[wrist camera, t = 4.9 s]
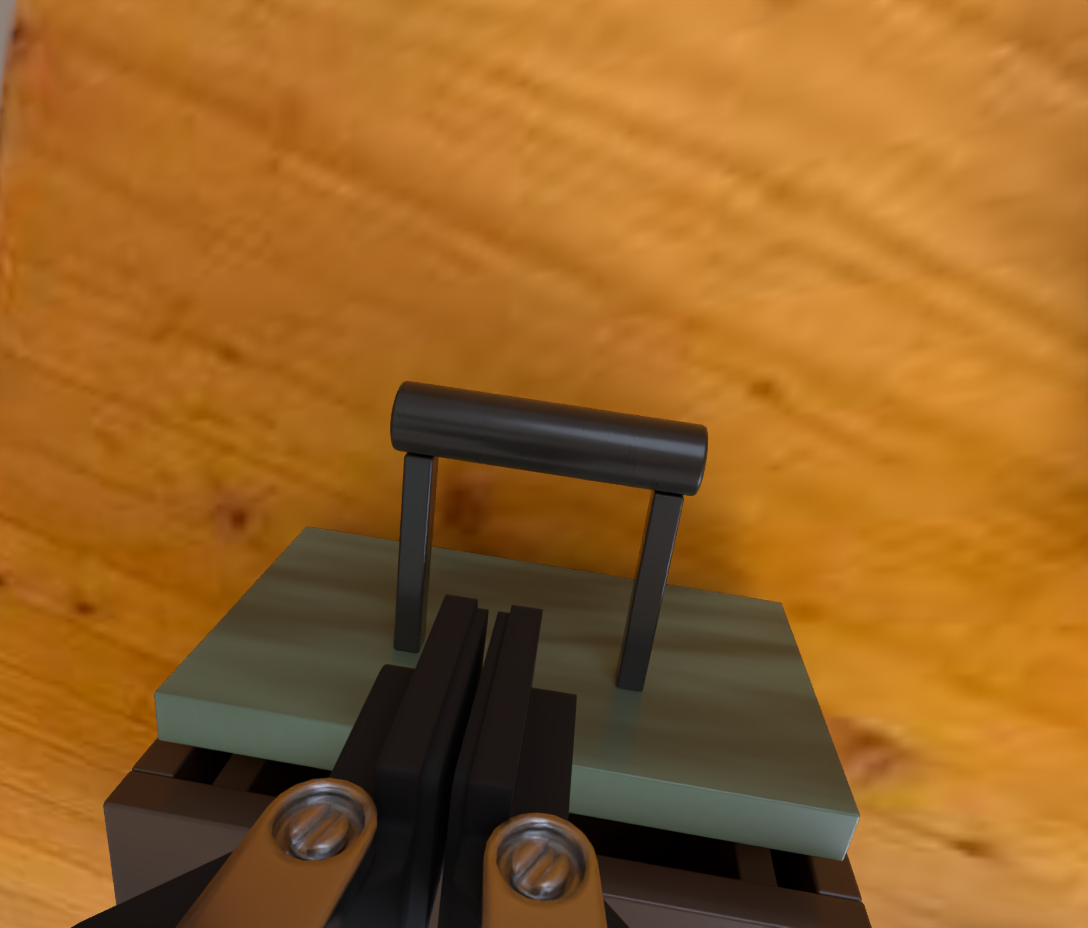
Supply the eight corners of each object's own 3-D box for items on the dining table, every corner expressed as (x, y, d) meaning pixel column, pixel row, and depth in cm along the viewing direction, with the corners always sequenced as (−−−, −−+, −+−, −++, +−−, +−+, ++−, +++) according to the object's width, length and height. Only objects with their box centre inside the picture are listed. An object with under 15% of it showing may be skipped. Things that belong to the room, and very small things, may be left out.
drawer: (307, 313, 19) (125, 390, 12) (841, 391, 18) (974, 520, 11) (304, 924, 27) (196, 1175, 20) (670, 993, 27) (686, 1276, 20)
